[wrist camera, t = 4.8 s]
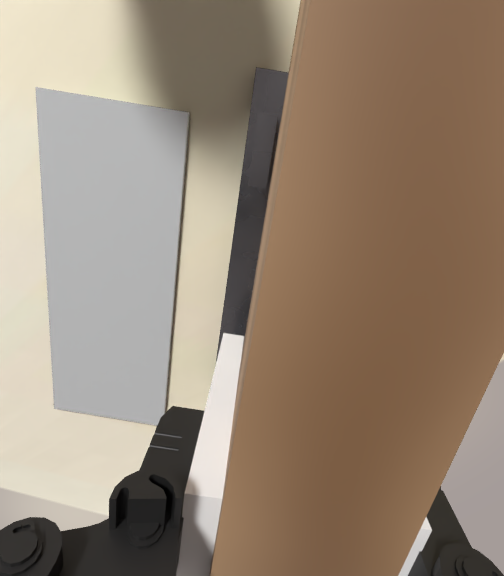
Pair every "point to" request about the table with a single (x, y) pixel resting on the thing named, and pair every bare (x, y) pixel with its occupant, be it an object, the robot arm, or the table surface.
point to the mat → (111, 249)
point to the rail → (369, 287)
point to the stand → (253, 197)
